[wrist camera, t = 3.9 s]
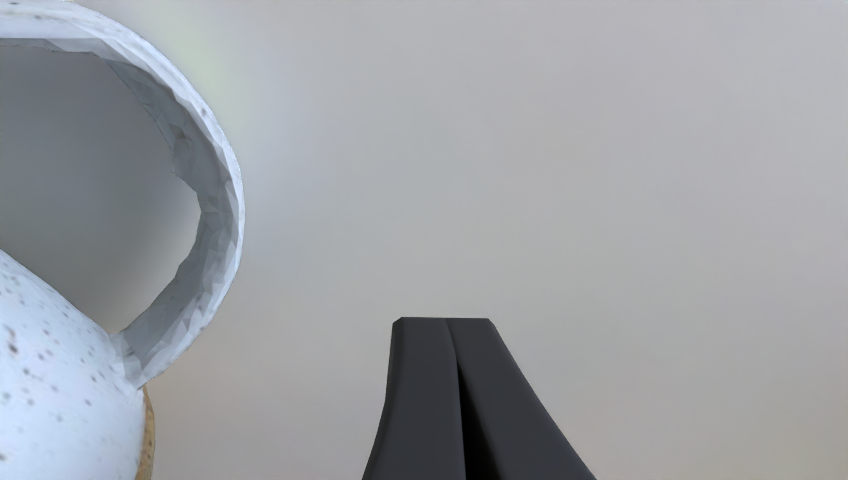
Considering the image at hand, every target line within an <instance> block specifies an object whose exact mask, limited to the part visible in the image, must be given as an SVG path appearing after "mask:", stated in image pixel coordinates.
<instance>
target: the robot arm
mask: <svg viewBox="0 0 848 480" xmlns="http://www.w3.org/2000/svg"><path fill="white" fill-rule="evenodd" d="M362 480H597V479H596V478H595V477H594V476H593V474H592V473H591V472H590V470H589V469H588V468H587V467H586V465H585V464H584V463H583V461H582V460H581V458H580V457H579V456H578V454H577V453H576V452H575V450H574V449H573V448H572V446H571V445H570V444H569V442H568V441H567V439H566V438H565V436H564V435H563V434H562V432H561V431H560V429H559V428H558V426H557V425H556V423H555V422H554V421H553V419H552V418H551V416H550V415H549V413H548V412H547V411H546V409H545V408H544V406H543V405H542V403H541V402H540V400H539V399H538V397H537V396H536V394H535V393H534V391H533V389H532V388H531V386H530V385H529V383H528V381H527V380H526V378H525V377H524V375H523V374H522V372H521V370H520V369H519V367H518V365H517V364H516V362H515V360H514V359H513V357H512V355H511V354H510V352H509V350H508V349H507V347H506V345H505V343H504V342H503V340H502V338H501V336H500V335H499V333H498V331H497V329H496V327H495V326H494V324H493V323H492V322H491V321H490V320H489V319H487V318H426V317H401V318H400V319H398V320H397V321H395V322H394V323H393V326H392V336H391V346H390V356H389V366H388V376H387V387H386V397H385V404H384V408H383V411H382V415H381V419H380V423H379V427H378V431H377V435H376V438H375V441H374V445H373V448H372V451H371V454H370V457H369V460H368V463H367V466H366V469H365V472H364V475H363V478H362Z"/></svg>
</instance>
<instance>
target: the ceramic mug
mask: <svg viewBox="0 0 848 480" xmlns="http://www.w3.org/2000/svg"><path fill="white" fill-rule="evenodd" d="M0 44H3V45H12V46H44V47H46V48H47V49H49V50H51V51H53V52H72V51H75V52H81V53H87V54H92V55H95V56H98V57H101V58H102V59H103V60H104V61H105V62H106V63H107V64H108V65H109V66H110V67H111V68H112V69H113V71H114V72H115V73H116V74H117V75H118V76H119V77H120V78H121V80H122V81H123V82H124V83H125V84H126V85H127V86H128V88H129V89H130V90H131V91H132V93H133V94H134V95H135V97H136V98H137V99H138V101H139V102H140V103H141V105H142V106H143V107H144V108H145V110H146V111H147V112H148V113H149V115H150V116H151V117H152V119H153V120H154V121H155V122H156V124H157V126H158V127H159V129H160V131H161V133H162V134H163V136H164V138H165V140H166V141H167V143H168V145H169V146H170V148H171V150H172V152H173V173H174V174H176V175H177V176H178V177H179V178H181V179H182V180H183V181H184V182H185V183H187V184H188V185H189V186H190V187H191V188H192V189H193V190H194V191H195V192H196V193H197V197H198V202H199V205H200V208H201V211H202V213H201V217H200V221H199V225H198V229H197V235H196V241H195V243H194V245H193V247H192V249H191V251H190V253H189V255H188V257H187V258H186V259H185V260H184V261H183V262H182V263H181V264H180V265H179V268H178V270H177V273H176V275H175V278H174V279H173V280H172V281H171V282H170V283H169V284H168V285H167V286H166V288H165V289H164V290H163V291H162V292H161V293H160V294H159V295H158V297H157V298H156V299H155V300H154V302H153V303H152V304H151V306H150V307H149V308H148V309H146V310H145V311H144V312H143V313H142V314H141V315H140V316H139V317H138V318H137V319H135V320H134V321H133V322H132V323H131V324H130V325H129V326H128V327H127V328H125V329H124V330H122V331H120V332H118V333H117V334H107V333H106V332H105V331H104V330H103V329H102V328H101V327H100V326H99V325H98V324H96V323H95V322H94V321H92V320H91V319H89V318H88V317H87V316H85V315H84V314H83V313H82V312H81V311H79V310H78V309H77V308H76V307H75V306H73V305H72V304H71V303H70V302H69V301H67V300H66V299H65V298H64V297H63V296H61V295H60V294H59V293H58V292H57V291H56V290H55V289H54V288H53V287H51V286H50V285H49V284H47V283H46V282H45V281H43V280H42V279H41V278H39V277H38V276H36V275H35V274H34V273H32V272H31V271H29V270H28V269H27V268H25V267H24V266H22V265H21V264H20V263H18V262H17V261H16V260H14V259H13V258H12V257H10V256H9V255H8V254H6V253H5V252H4V251H3V250H1V249H0V480H151V474H152V466H153V458H154V450H155V427H154V412H153V409H152V406H151V403H150V400H149V397H148V394H147V391H146V387H145V383H146V382H147V381H149V380H150V379H152V378H154V377H156V376H158V375H159V374H161V373H163V372H164V371H165V370H166V369H167V368H168V367H169V365H170V364H171V363H172V362H173V361H174V360H176V359H177V358H178V357H179V356H181V355H182V354H183V353H184V352H185V351H187V350H188V349H189V347H190V346H191V344H192V343H193V341H194V340H195V338H196V337H197V336H198V335H199V334H200V333H201V332H202V331H203V329H204V328H205V327H206V326H207V325H208V324H209V323H210V321H211V320H212V319H213V317H214V315H215V314H216V312H217V310H218V308H219V306H220V304H221V302H222V300H223V299H224V297H225V295H226V293H227V291H228V289H229V288H230V286H231V284H232V282H233V280H234V277H235V275H236V272H237V269H238V267H239V264H240V258H241V250H242V242H243V233H244V224H245V204H244V194H243V186H242V180H241V173H240V167H239V165H238V162H237V160H236V158H235V156H234V153H233V151H232V149H231V145H230V144H229V143H228V141H227V139H226V137H225V135H224V133H223V132H222V130H221V128H220V126H219V124H218V123H217V121H216V119H215V117H214V115H213V113H212V112H211V110H210V108H209V107H208V106H207V104H206V103H205V102H204V100H203V99H202V98H201V97H200V96H199V94H198V93H197V92H196V91H195V89H194V88H193V87H192V86H191V85H190V83H189V82H188V81H187V80H186V79H185V77H184V76H183V75H182V74H181V73H180V72H179V70H178V69H177V68H176V67H175V66H174V65H173V64H172V63H171V62H170V61H169V60H168V59H167V58H166V57H164V56H163V55H162V54H161V53H160V52H159V51H158V50H157V49H156V48H154V47H153V46H152V45H151V44H150V43H149V42H147V41H146V40H145V39H143V38H142V37H141V36H139V35H138V34H137V33H135V32H133V31H131V30H130V29H128V28H126V27H125V26H123V25H121V24H119V23H117V22H115V21H113V20H111V19H110V18H108V17H106V16H104V15H102V14H100V13H98V12H96V11H93V10H90V9H87V8H85V7H82V6H79V5H77V4H74V3H72V2H69V1H66V0H0Z"/></svg>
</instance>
